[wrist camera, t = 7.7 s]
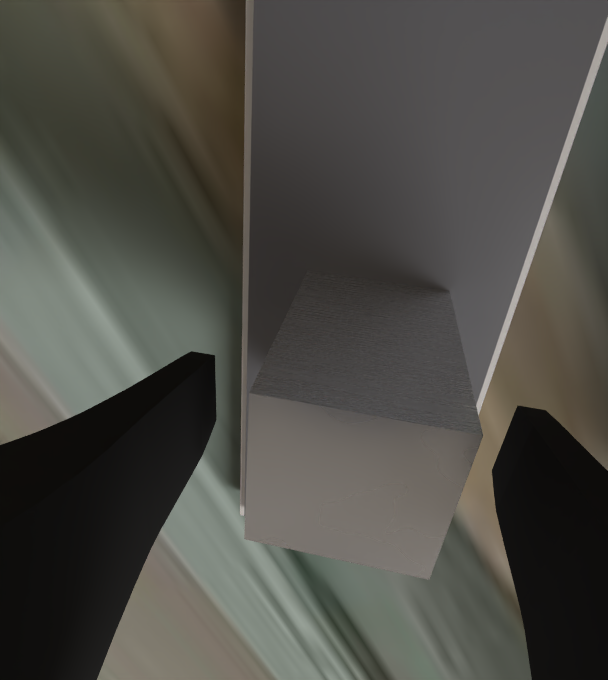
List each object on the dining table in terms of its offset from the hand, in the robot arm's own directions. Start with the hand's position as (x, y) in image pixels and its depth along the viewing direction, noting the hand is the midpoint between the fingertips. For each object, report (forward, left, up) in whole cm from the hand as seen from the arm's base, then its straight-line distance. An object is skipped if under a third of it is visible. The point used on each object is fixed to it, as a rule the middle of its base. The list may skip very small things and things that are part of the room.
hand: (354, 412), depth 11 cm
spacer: (0, 0, -3) cm, 3 cm away
